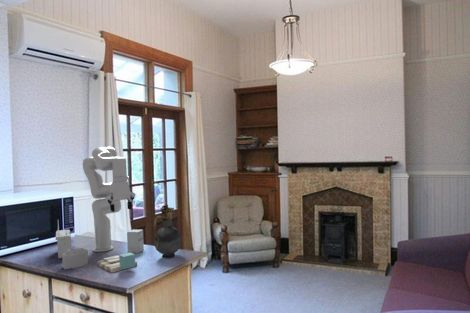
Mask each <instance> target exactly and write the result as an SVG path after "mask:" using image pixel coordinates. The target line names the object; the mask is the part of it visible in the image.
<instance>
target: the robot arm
mask: <svg viewBox="0 0 470 313" xmlns="http://www.w3.org/2000/svg"><path fill="white" fill-rule="evenodd" d="M117 155H118V153H117V150H116V149H115V148H114V147H112V146H107V147H106V146H104V147H103V146H99V147H96V148H93V150H92V152H91V156H88V157H85V158H84V159H83V160H82V170H83V173H84V175H85V176H86V178H87V180H88V184H89V189H90V193H91V196H92V198H93V199H95V200H93V202H92V203H91V210H92V215H93V225H94V226H93V227H94V229H93V230H94V245H95V246H94V247H92V252H96V253H103V252H107V251H112V250H113V249H115V246H114V245H112V231H111V230H112V229H111V228H112V226H111V220H110V218H109V217H108V216H107V215H109V214H114V213H119V212H120V211H121V210H122V201H124V200H126V201H127V204H126V206H127V209H128V210H132V206H133V205H132V202H133V201H134V199H135V197H136V193H134V192H132V191H131V189H130V184H129V183H130V182H129V181H128V180H130V177H129V176H128V174H127V173H128V172H127V159H126V157H122V156H117ZM97 170H100V171H102V172H105V171H112V182H104V180H103V176H102V175H101V174H100V173H99V172H98V171H97Z"/></svg>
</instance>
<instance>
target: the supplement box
mask: <svg viewBox="0 0 470 313" xmlns="http://www.w3.org/2000/svg"><path fill="white" fill-rule="evenodd" d="M126 242H127V243H126V244H127V247H126V248H127V253H133V254H139V253H140V252H142V251H144V248H145V247H144V244H145V243H144V229H131V230H129V231H127V232H126Z"/></svg>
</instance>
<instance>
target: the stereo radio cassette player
mask: <svg viewBox="0 0 470 313" xmlns="http://www.w3.org/2000/svg"><path fill="white" fill-rule="evenodd" d="M59 221H60V220H59V219H57V222H59ZM55 240H56V242H57V244H56V245H57V258H58V259H59V260H60V259H62V254H63V253H65V252H66V251H67V250H68V249H72V236H71V230H70V229H61V230H60V226H59V223H57V230H56V231H55Z"/></svg>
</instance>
